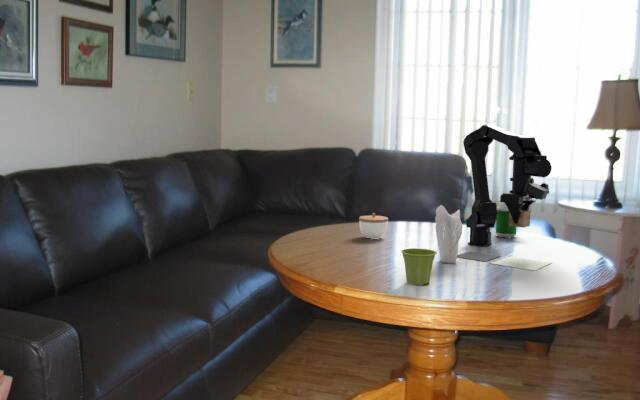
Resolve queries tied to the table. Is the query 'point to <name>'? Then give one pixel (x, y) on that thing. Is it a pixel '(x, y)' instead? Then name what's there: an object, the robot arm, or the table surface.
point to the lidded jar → (373, 225)
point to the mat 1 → (477, 256)
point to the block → (521, 219)
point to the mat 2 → (521, 263)
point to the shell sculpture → (448, 234)
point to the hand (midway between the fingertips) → (519, 222)
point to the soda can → (504, 223)
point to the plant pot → (418, 265)
